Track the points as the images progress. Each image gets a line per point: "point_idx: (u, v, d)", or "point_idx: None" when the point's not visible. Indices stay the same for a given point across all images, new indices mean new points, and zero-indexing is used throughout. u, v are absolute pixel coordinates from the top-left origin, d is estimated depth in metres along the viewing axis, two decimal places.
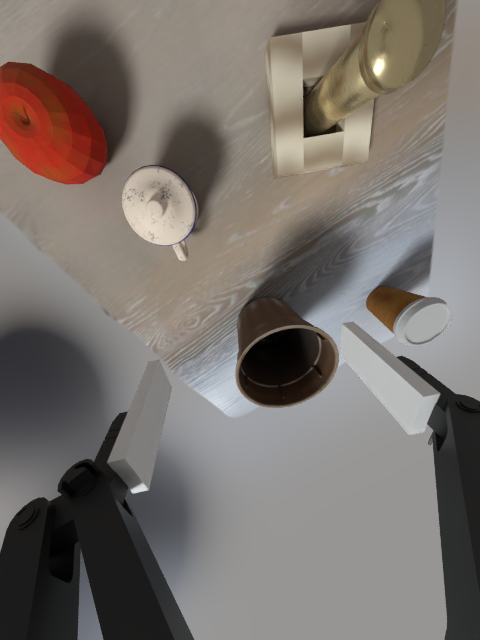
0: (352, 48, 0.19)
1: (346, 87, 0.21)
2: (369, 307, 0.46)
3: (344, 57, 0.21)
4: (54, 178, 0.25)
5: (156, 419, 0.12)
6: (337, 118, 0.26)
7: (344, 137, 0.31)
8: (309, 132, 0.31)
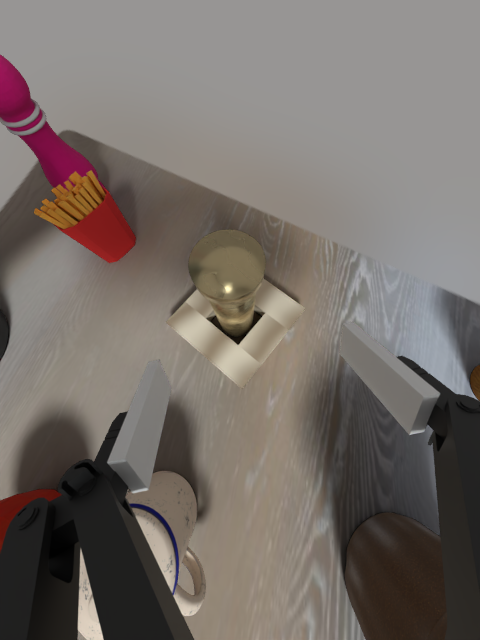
0: None
1: (225, 310, 0.20)
2: None
3: None
4: None
5: (157, 419, 0.12)
6: (246, 319, 0.25)
7: (269, 315, 0.30)
8: (241, 334, 0.31)
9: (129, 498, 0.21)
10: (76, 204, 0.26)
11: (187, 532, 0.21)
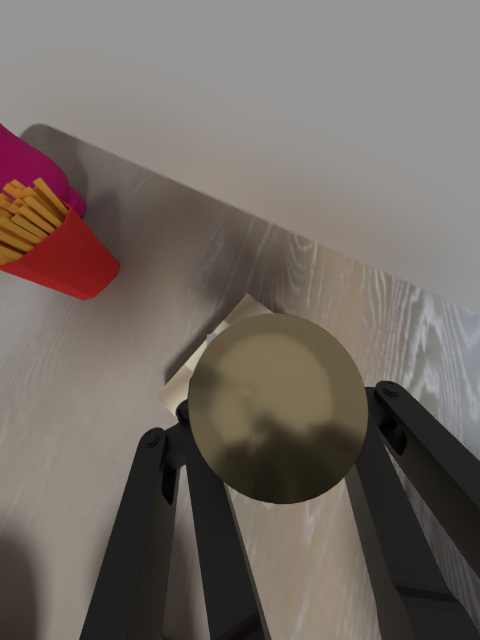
0: None
1: None
2: None
3: None
4: None
5: None
6: None
7: None
8: None
9: None
10: (15, 230, 0.17)
11: None
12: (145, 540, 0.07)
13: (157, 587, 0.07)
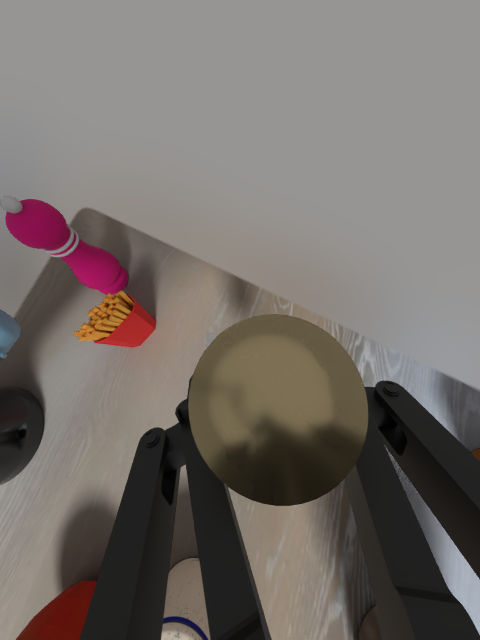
0: None
1: None
2: None
3: None
4: None
5: None
6: None
7: None
8: None
9: (169, 604, 0.24)
10: (110, 323, 0.29)
11: None
12: (145, 540, 0.07)
13: (157, 587, 0.07)
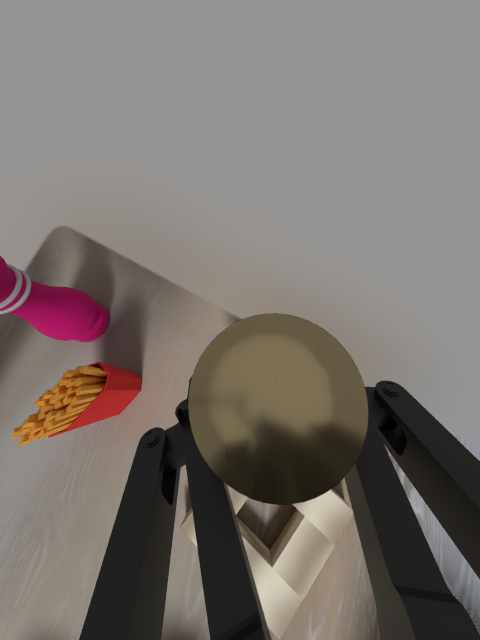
0: None
1: None
2: None
3: None
4: None
5: None
6: None
7: (310, 521, 0.24)
8: None
9: None
10: (68, 416, 0.20)
11: None
12: (145, 540, 0.07)
13: (157, 587, 0.07)
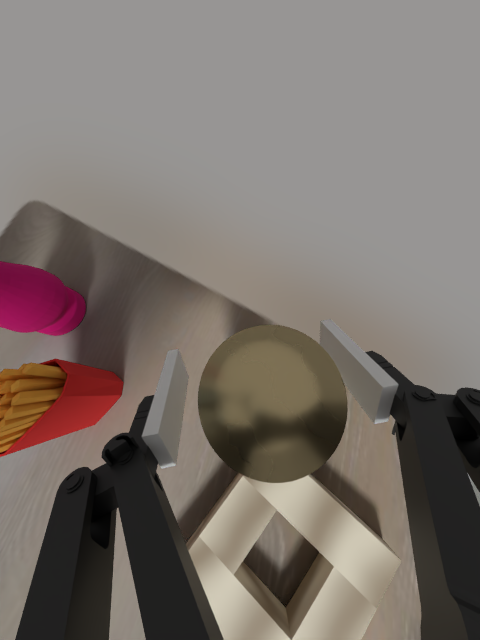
0: None
1: None
2: None
3: None
4: None
5: (179, 403, 0.13)
6: None
7: (341, 573, 0.18)
8: None
9: None
10: (2, 434, 0.14)
11: None
12: (71, 597, 0.06)
13: None
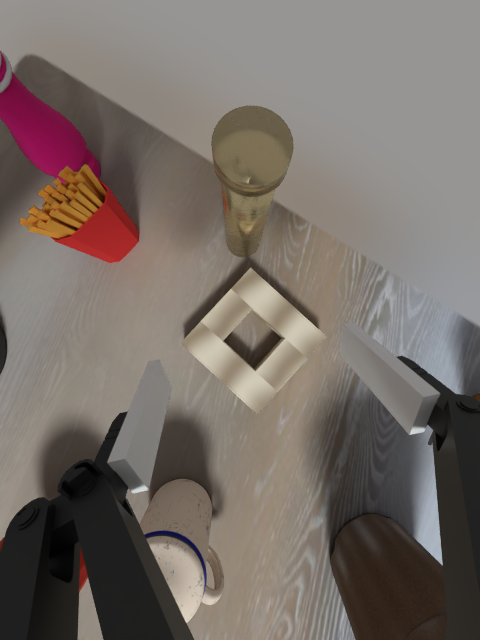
0: (223, 190, 0.19)
1: (241, 211, 0.20)
2: None
3: (224, 199, 0.21)
4: None
5: (156, 419, 0.12)
6: (258, 231, 0.25)
7: (289, 341, 0.29)
8: (247, 254, 0.31)
9: (157, 519, 0.23)
10: (72, 212, 0.21)
11: (208, 539, 0.25)
12: None
13: None
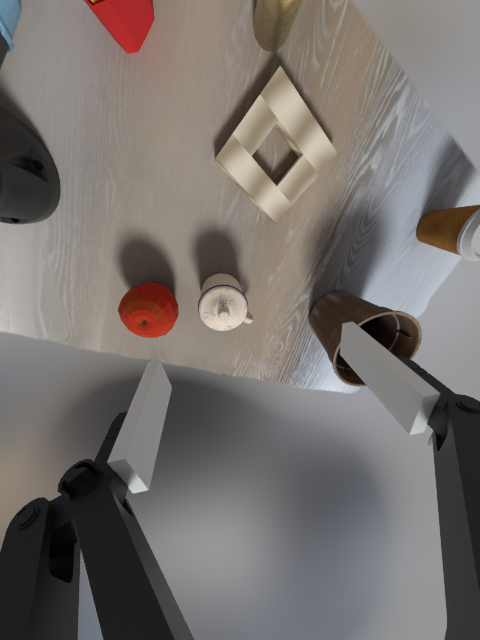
0: None
1: None
2: (423, 242, 0.45)
3: None
4: (166, 333, 0.40)
5: (156, 419, 0.12)
6: (298, 5, 0.24)
7: (306, 157, 0.34)
8: (276, 47, 0.30)
9: (216, 283, 0.38)
10: None
11: None
12: None
13: None
